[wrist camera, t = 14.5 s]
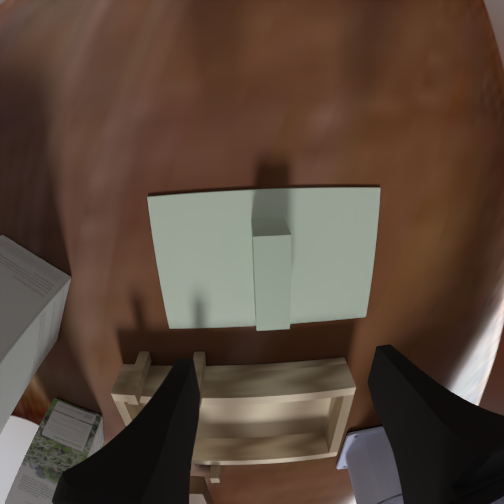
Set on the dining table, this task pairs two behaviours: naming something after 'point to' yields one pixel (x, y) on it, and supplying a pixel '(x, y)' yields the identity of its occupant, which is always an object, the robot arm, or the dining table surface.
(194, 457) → the tan wooden frame
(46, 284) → the supplement box
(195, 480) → the light brown wooden bar
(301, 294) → the lid
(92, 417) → the syrup box
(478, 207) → the dining table surface
